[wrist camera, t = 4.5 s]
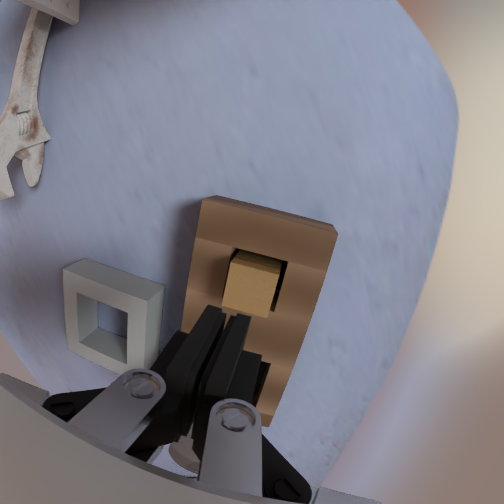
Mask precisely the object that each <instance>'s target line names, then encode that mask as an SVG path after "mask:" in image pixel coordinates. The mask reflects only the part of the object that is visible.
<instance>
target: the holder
mask: <svg viewBox="0 0 504 504" xmlns="http://www.w3.org/2000/svg"><path fill="white" fill-rule="evenodd" d="M164 293H165V285H163V284H160V283H157V282H154V281H150V280H147V279H144V278H141V277H138V276H135V275H132V274H129V273H126V272H123V271H120V270H117V269H115V268H112V267H109V266H106V265H103V264H100V263H97V262H95V261H92V260H89V259H86V258H85V259H82V260H80V261H78V262H76V263H74V264H72V265H70V266H68V267H65V268H63V295H64V312H65V324H66V334H67V343H68V350H70V351H72V352H74V353H76V354H78V355H80V356H82V357H84V358H86V359H88V360H90V361H92V362H94V363H96V364H98V365H100V366H102V367H104V368H106V369H109V370H111V371H113V372H115V373H117V374H120V375H122V374H123V373H125V372H126V371H128V370H131V369H138V368H142V369H148V370H149V369H150V368H151V367H152V365H153V364H154V362H155V361H156V359H157V358H158V355H159V342H160V331H161V321H162V311H163V302H164ZM98 301H99V302H102V303H104V304H107V305H109V306H112V307H114V308H117V309H119V310H122V311H124V312H127V313H128V327H127V339H125V338H123V337H120V336H118V335H115V334H113V333H111V332H108V331H106V330H104V329H101V328H99V327H98Z"/></svg>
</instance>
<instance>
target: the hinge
mask: <svg viewBox="0 0 504 504" xmlns="http://www.w3.org/2000/svg"><path fill="white" fill-rule="evenodd" d="M16 1H19V2H21V3H24V4H26V5H29V6H31V7H33V8H36V9H38V10H40V11H43V12H45V13H47V14H49V15H52V16H54V17H56V18H58V19H60V20H62V21H64V22H66V23H69V24H71V25H73V26H74V25H75V24H77V23H79V4H80V0H16Z"/></svg>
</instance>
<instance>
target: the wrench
mask: <svg viewBox="0 0 504 504" xmlns="http://www.w3.org/2000/svg"><path fill="white" fill-rule="evenodd" d="M52 19H53V16H52V15H49V14H47V13H45V12H43V11H40V10H38V9H36V8H33V7H32V8H31V11H30V14H29V17H28V20H27V23H26V27H25V30H24V33H23V37H22V40H21V44H20V48H19V52H18V56H17V60H16V65H15V69H14V74H13V79H12V85H11V91H10V96H9V98H8V100H7V103H6V105H5V107H4V110H3V112H2V115H1V117H0V200H4V199H7V198H10V197H12V196H15V194H14V191H13V188H12V185H11V182H10V178H9V175H8V171H7V168H6V166H7V165H8V163H9V162H10V160H11V159H12V157H13V156H15V157H17V158H19V159H21V160H23V161H22V166H23V171H24V175H25V178H26V180H27V183H28V185H29V186H30V187H32V186H35V185H36V184H37V183H38V181H39V178H40V174H41V170H42V165H43V161H44V142H46V141H48V140H50V139H51V137H50V136H49V134H48V133H47V129H46V127H44V126H43V123H42V120H41V117H40V113H39V110H38V102H37V88H38V81H39V74H40V68H41V63H42V59H43V54H44V50H45V45H46V41H47V37H48V34H49V30H50V26H51V23H52Z"/></svg>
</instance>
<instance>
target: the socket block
mask: <svg viewBox="0 0 504 504" xmlns="http://www.w3.org/2000/svg"><path fill="white" fill-rule="evenodd" d="M337 236H338V233H337V231H336V230H335V228H334V227H333V225H332V224H328V223H324V222H321V221H317V220H313V219H310V218H306V217H302V216H298V215H295V214H291V213H287V212H283V211H279V210H275V209H271V208H267V207H263V206H259V205H255V204H251V203H247V202H243V201H238V200H234V199H230V198H226V197H221V196H217V195H216V196H212V197H209V198H206V199H203V200H202V205H201V210H200V215H199V220H198V226H197V231H196V237H195V242H194V248H193V254H192V260H191V266H190V272H189V278H188V284H187V291H186V297H185V304H184V311H183V318H182V325H181V331H182V332H185V333H190V331H191V330H192V328H193V327H194V325H195V323H196V322H197V320H198V319H199V317H200V316H201V314H202V313H203V311H204V309H205V308H206V306H207V305H208V304H209V305H212V306H216V307H219V308H222V312H223V313H226V314H227V316H226V321H225V325H224V328H225V326H226V324H227V322H228V320H229V318H230V315H233V316H236V315H237V313H240V314H244V315H248V316H251V321H250V325H249V329H248V333H247V337H246V340H245V344H244V348H243V350H245V351H249V352H253V353H257V354H260V355H262V359H261V361H264V362H268V364H267V367H266V370H265V373H264V376H263V379H262V382H261V385H260V387H258V386H255V389H254V393H253V398H252V402H251V405H253V406H254V407H255V408H256V409H257V410H258V412H259V413H260V416H261V426H264V427H269V425H270V423H271V421H272V418H273V416H274V414H275V411H276V409H277V407H278V404H279V402H280V399H281V397H282V394H283V392H284V390H285V387H286V385H287V382H288V380H289V377H290V374H291V372H292V369H293V367H294V364H295V362H296V359H297V356H298V354H299V351H300V348H301V346H302V343H303V340H304V337H305V335H306V332H307V329H308V326H309V323H310V320H311V318H312V315H313V312H314V309H315V306H316V303H317V300H318V297H319V294H320V291H321V288H322V285H323V282H324V279H325V276H326V272H327V269H328V266H329V263H330V259H331V256H332V253H333V250H334V246H335V243H336V239H337ZM239 249H243V250H247V251H250V252H254V253H258V254H262V255H266V256H269V257H273V258H277V259H281V260H285V261H287V262H286V266H285V269H284V273H283V277H282V280H281V284H280V287H279V291H278V293H275V292H274V296H273V300H272V303H271V307H270V310H269V314H268V317H267V318H264V317H261V316H257V315H253V314H250V313H246V312H242V311H239V310H235V309H232V308H228V307H225V306H222V301H223V296H224V292H225V287H226V282H227V277H228V273H229V268H230V263H231V261H232V260H233V259H234V257H235V256H236V255H237V253H238V251H239Z"/></svg>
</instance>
